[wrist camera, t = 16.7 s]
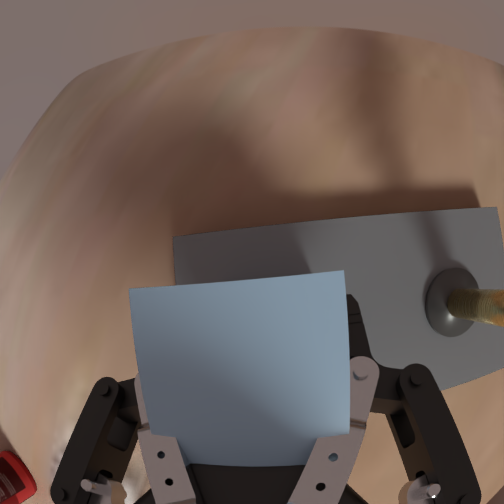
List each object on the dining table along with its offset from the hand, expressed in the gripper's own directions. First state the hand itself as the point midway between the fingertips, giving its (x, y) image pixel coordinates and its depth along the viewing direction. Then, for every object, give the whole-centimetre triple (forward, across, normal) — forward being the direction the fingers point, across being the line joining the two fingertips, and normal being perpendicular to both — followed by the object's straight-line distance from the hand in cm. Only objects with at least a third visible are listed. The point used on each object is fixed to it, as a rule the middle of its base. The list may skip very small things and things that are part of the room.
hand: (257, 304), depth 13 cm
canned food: (-13, +37, +22) cm, 45 cm away
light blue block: (+2, 0, +4) cm, 5 cm away
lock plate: (+3, -6, +6) cm, 9 cm away
